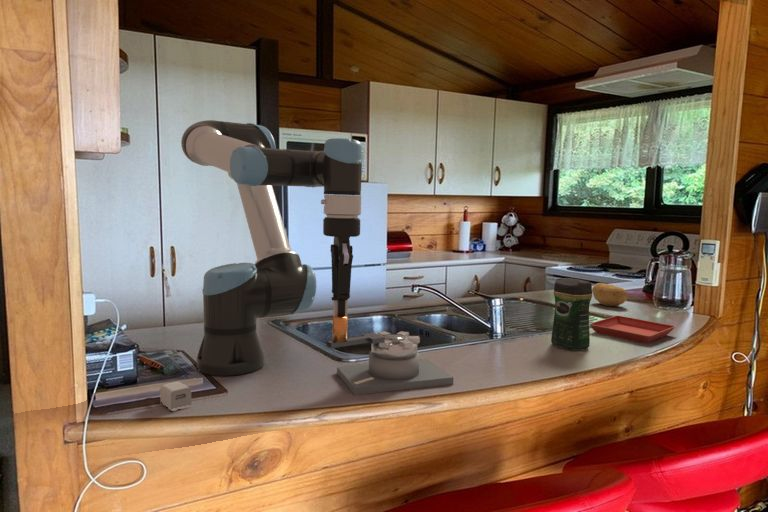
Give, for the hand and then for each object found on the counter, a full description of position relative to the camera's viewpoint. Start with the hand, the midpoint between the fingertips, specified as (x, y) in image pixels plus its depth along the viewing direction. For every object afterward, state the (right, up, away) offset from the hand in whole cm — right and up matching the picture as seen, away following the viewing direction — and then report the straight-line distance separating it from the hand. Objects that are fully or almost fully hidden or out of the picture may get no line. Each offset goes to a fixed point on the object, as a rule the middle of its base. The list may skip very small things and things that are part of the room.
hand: (339, 330), depth 116 cm
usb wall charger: (-31, -13, -10) cm, 35 cm away
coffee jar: (+59, -9, +35) cm, 70 cm away
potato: (+93, -3, +92) cm, 131 cm away
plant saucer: (+83, -8, +50) cm, 97 cm away
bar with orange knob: (+7, -6, +3) cm, 10 cm away
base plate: (+11, -11, +7) cm, 17 cm away
